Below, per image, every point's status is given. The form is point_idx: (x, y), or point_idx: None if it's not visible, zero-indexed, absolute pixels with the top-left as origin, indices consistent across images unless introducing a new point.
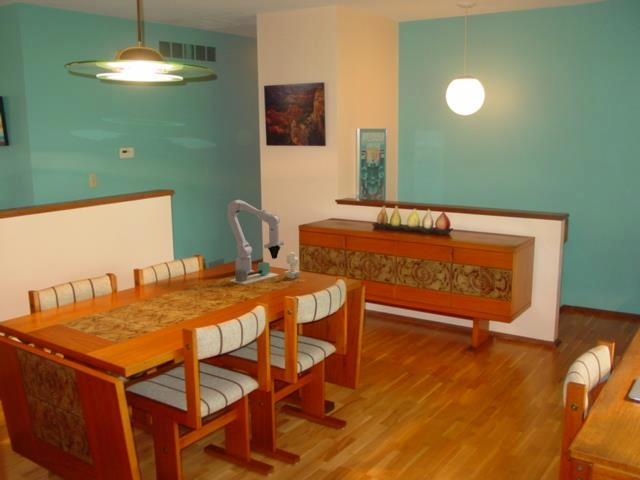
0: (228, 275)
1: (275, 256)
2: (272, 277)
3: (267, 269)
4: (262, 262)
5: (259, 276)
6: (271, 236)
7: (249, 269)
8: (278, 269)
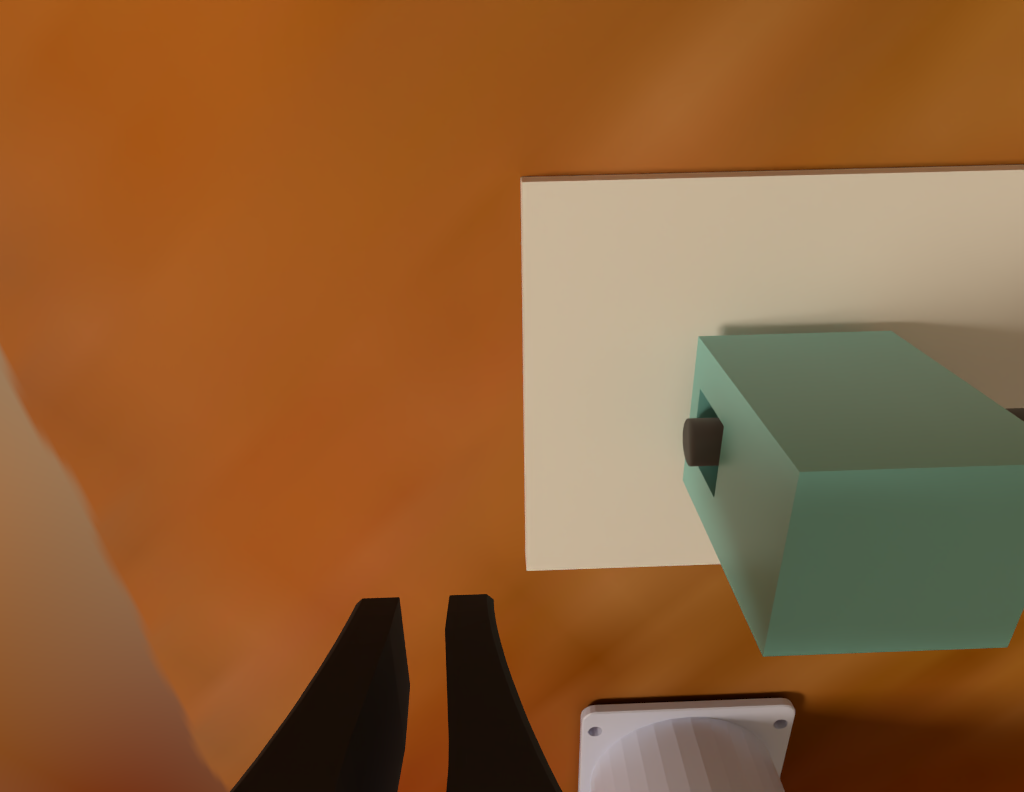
0: (982, 766)
1: (390, 676)
2: (748, 172)
3: (805, 378)
4: (844, 641)
5: None
6: None
7: (698, 752)
8: (170, 572)
